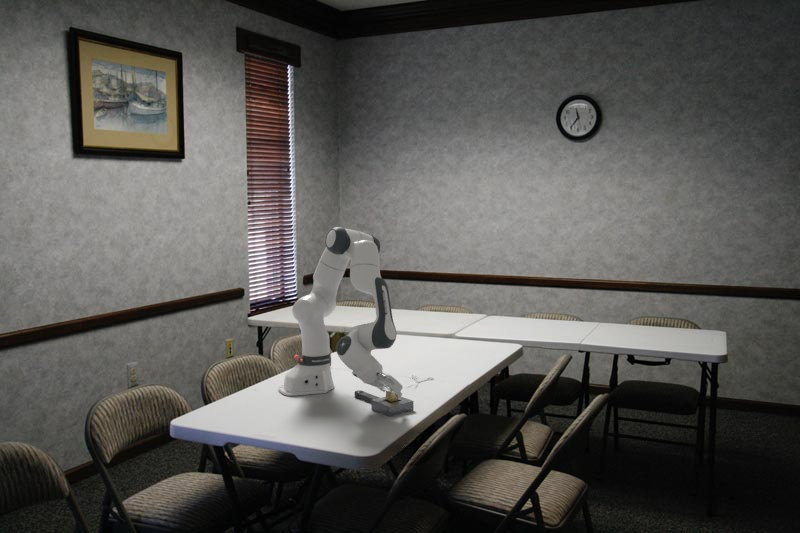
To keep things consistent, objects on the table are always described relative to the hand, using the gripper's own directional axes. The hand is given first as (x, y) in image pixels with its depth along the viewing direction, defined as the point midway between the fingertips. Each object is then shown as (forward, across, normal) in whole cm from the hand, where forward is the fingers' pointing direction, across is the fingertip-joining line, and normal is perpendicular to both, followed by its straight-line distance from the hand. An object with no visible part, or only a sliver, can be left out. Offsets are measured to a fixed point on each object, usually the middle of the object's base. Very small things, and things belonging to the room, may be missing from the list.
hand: (392, 392), depth 253 cm
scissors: (+26, +23, -17) cm, 39 cm away
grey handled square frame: (+4, +9, +5) cm, 11 cm away
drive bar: (+4, 0, +5) cm, 6 cm away
